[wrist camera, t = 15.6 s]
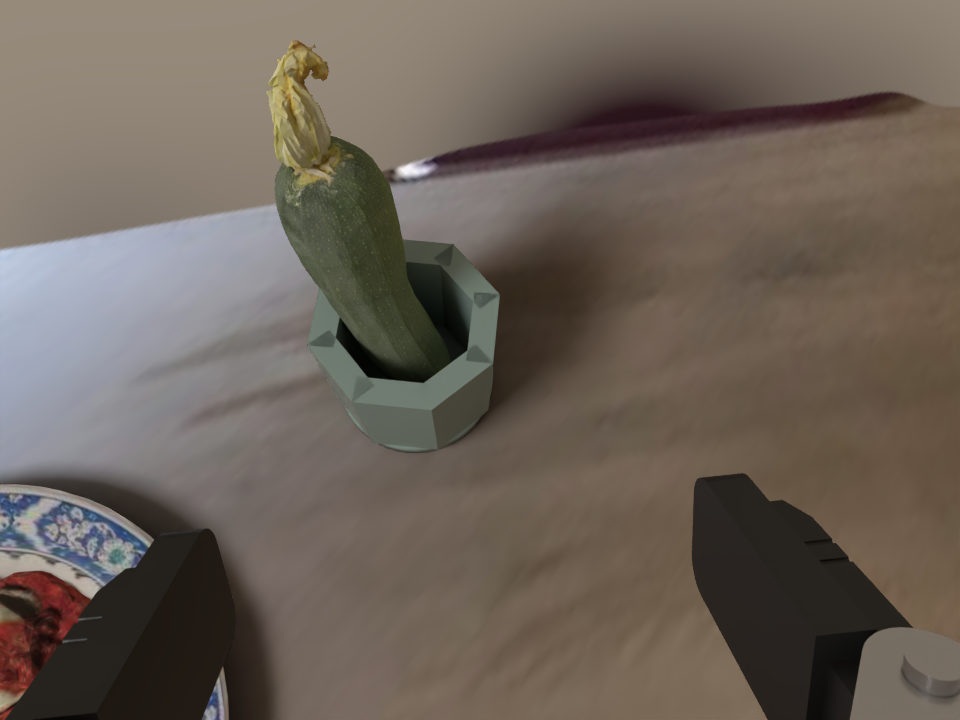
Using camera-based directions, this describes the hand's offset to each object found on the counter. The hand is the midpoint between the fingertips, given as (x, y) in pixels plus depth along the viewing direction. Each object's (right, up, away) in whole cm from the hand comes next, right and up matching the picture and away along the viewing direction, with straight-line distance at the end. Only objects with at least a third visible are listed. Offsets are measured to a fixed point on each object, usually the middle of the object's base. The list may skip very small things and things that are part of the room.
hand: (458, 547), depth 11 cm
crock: (-3, +2, +27) cm, 27 cm away
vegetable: (-2, +2, +26) cm, 26 cm away
